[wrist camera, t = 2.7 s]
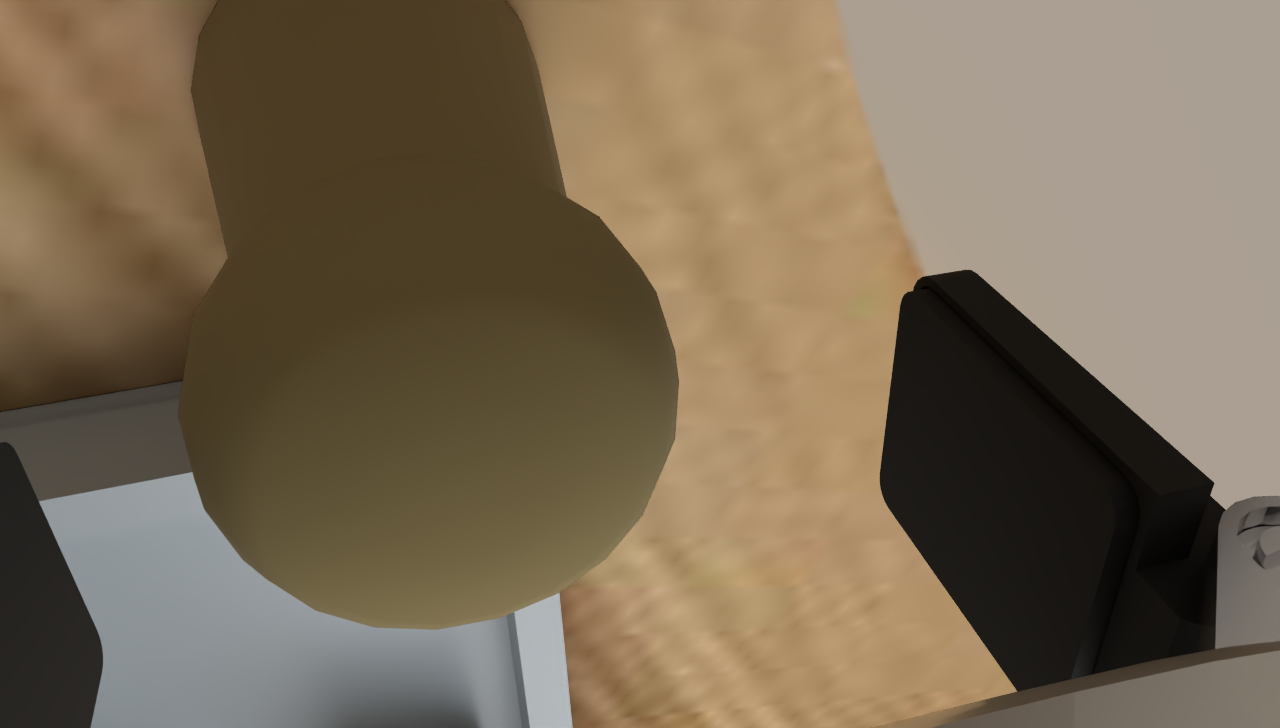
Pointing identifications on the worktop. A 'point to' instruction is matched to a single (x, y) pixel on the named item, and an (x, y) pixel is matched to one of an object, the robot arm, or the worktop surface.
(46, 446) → the tray
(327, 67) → the cork
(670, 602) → the worktop surface
